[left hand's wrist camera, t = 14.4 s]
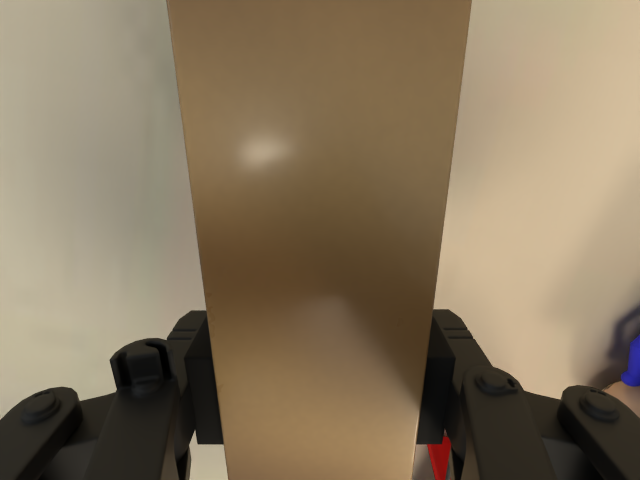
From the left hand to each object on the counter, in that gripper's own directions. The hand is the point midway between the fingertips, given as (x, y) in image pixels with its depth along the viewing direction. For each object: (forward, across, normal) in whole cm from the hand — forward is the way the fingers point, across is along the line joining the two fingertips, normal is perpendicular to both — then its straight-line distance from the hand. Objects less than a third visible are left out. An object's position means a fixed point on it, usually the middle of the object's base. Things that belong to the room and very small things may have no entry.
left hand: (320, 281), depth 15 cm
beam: (+1, 0, -24) cm, 24 cm away
